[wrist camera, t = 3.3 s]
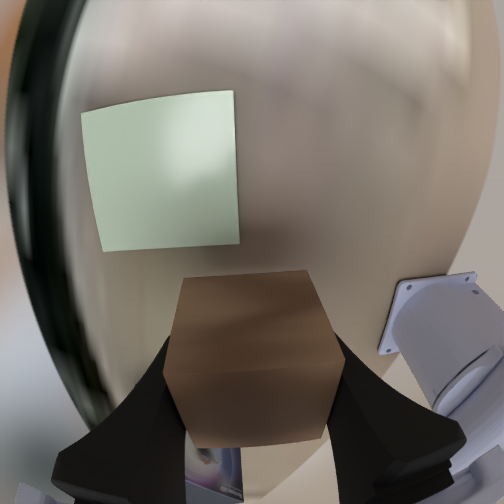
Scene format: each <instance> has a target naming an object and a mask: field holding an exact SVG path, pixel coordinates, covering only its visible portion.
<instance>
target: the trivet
mask: <svg viewBox="0 0 504 504" xmlns="http://www.w3.org/2000/svg"><path fill="white" fill-rule="evenodd" d="M81 120H82V132H83V142H84V151H85V159H86V166H87V173H88V179H89V186H90V191H91V197H92V202H93V208H94V213H95V217H96V222H97V227H98V231H99V236H100V240H101V244H102V248H103V252H106V251H122V250H139V249H157V248H174V247H193V246H211V245H231V244H240V239H239V219H238V198H237V175H236V151H235V126H234V98H233V90H229V91H213V92H201V93H190V94H181V95H173V96H166V97H159V98H152V99H146V100H140V101H135V102H129V103H124V104H119V105H115V106H110V107H106V108H101V109H97V110H93V111H89V112H85V113H82V114H81Z"/></svg>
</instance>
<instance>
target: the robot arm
mask: <svg viewBox="0 0 504 504" xmlns="http://www.w3.org/2000/svg"><path fill="white" fill-rule="evenodd" d="M476 278H477V274H476V273H475V272H467V273H459V274H452V275H445V276H437V277H429V278H421V279H412V280H404V281H401V282H400V283H399V284H398V286H397V289H396V293H395V297H394V300H393V304H392V308H391V311H390V314H389V318H388V321H387V324H386V328H385V331H384V334H383V337H382V340H381V343H380V346H379V349H378V352H379V354H380V355H385V354H390V353H395V352H399V351H400V352H401V353H402V355H403V357H404V359H405V360H406V362H407V364H408V365H409V367H410V369H411V371H412V373H413V374H414V376H415V378H416V380H417V382H418V384H419V386H420V387H421V389H422V391H423V393H424V395H425V397H426V399H427V401H428V403H429V405H430V407H431V409H432V411H431V410H429V409H427V408H425V407H423V406H421V405H419V404H417V403H415V402H414V401H412V400H411V399H409V398H407V397H406V396H404V395H402V394H401V393H399V392H398V391H396V390H395V389H393V388H392V387H391V386H389V385H388V384H387V383H386V382H384V381H383V380H382V379H381V378H379V377H378V376H377V375H376V374H375V373H374V372H373V371H371V370H370V369H369V368H368V367H367V366H366V365H365V364H364V363H363V362H362V361H361V360H360V359H359V358H358V357H357V356H356V355H355V354H354V353H353V352H352V351H351V350H350V349H349V348H348V347H347V346H346V344H345V343H344V342H343V341H342V340H341V339H340V338H339V337H338V335H337V334H336V333H335V332H334V333H335V336H336V338H337V341H338V343H339V345H340V348H341V350H342V353H343V355H344V357H345V363H344V366H343V370H342V374H341V377H340V381H339V384H338V388H337V391H336V394H335V398H334V401H333V404H332V407H331V410H330V414H329V417H328V420H327V427H328V431H329V435H330V440H331V445H332V449H333V456H334V462H335V468H336V475H337V482H338V492H339V501H340V504H496V503H497V502H498V501H500V500H501V499H504V311H503V310H502V309H500V307H499V306H498V305H497V304H496V303H495V302H494V301H493V300H492V299H491V298H490V297H489V296H488V295H487V294H486V293H485V292H484V291H483V290H482V289H481V288H480V287H479V286H478V285H477V284H475V281H476ZM408 285H409V286H408ZM407 286H408V287H407ZM169 340H170V336H169V337H168V338H167V339H166V341H165V343H164V344H163V346H162V348H161V349H160V351H159V353H158V354H157V356H156V357H155V359H154V361H153V362H152V364H151V365H150V366H149V368H148V369H147V371H146V372H145V374H144V375H143V377H142V378H141V379H140V381H139V382H138V383H137V385H136V386H135V387H134V389H133V390H132V391H131V392H130V393H129V395H128V396H127V397H126V398H125V399H124V400H123V402H122V403H121V404H120V405H119V406H118V407H117V408H116V409H115V410H114V411H113V412H112V413H111V414H110V415H109V416H108V417H107V418H106V419H105V420H104V421H103V422H101V423H100V424H99V425H98V426H97V427H95V428H94V429H93V430H92V431H90V432H89V433H88V434H87V435H86V436H84V437H83V438H82V439H80V440H78V441H77V442H75V443H74V444H72V445H70V446H69V447H67V448H66V449H64V450H62V451H61V452H59V454H58V457H57V459H56V462H55V466H54V470H53V474H52V478H51V482H52V483H53V485H55V486H56V487H57V488H59V489H60V490H62V491H64V492H65V493H67V494H68V495H70V496H72V497H73V498H75V502H74V504H187V503H186V487H185V439H186V430H187V429H186V427H185V425H184V423H183V421H182V418H181V416H180V414H179V412H178V409H177V407H176V405H175V402H174V400H173V398H172V395H171V393H170V390H169V388H168V385H167V383H166V380H165V378H164V375H163V369H164V364H165V359H166V354H167V350H168V345H169ZM14 504H66V503H64V502H61V501H58V500H56V499H54V498H53V497H51V496H50V495H48V494H46V493H44V492H42V491H40V490H38V489H36V488H33V487H31V486H29V485H27V484H25V483H23V482H20V484H19V488H18V491H17V495H16V499H15V503H14Z"/></svg>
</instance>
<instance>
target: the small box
mask: <svg viewBox="0 0 504 504" xmlns="http://www.w3.org/2000/svg"><path fill="white" fill-rule="evenodd" d="M136 385H137V384H136ZM136 385H135V386H136ZM185 487H186V503H187V504H237V503H244V498H243V483H242V468H241V451H240V447H239V448H195V446H194V444H193V442H192V440H191V438H190V436H189V434H188V432H187V430H186V439H185Z"/></svg>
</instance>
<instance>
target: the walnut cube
mask: <svg viewBox="0 0 504 504" xmlns="http://www.w3.org/2000/svg"><path fill="white" fill-rule="evenodd" d="M344 363H345V357H344V355H343V353H342V350H341V348H340V345H339V343H338V341H337V338H336V336H335V333H334V331H333V329H332V326H331V324H330V322H329V319H328V317H327V315H326V312H325V310H324V308H323V306H322V303H321V301H320V299H319V297H318V294H317V292H316V290H315V288H314V285H313V283H312V281H311V279H310V276H309V274H308V272H307V270H300V271H287V272H273V273H258V274H243V275H227V276H211V277H193V278H184V280H183V284H182V288H181V292H180V296H179V300H178V304H177V309H176V313H175V317H174V322H173V326H172V331H171V335H170V340H169V345H168V350H167V354H166V359H165V364H164V369H163V375H164V378H165V380H166V383H167V385H168V388H169V390H170V393H171V395H172V398H173V400H174V402H175V405H176V407H177V409H178V412H179V414H180V416H181V418H182V421H183V423H184V425H185V427H186V429H187V432H188V434H189V436H190V438H191V440H192V442H193V444H194V446H195V448H239V447H256V446H267V445H277V444H286V443H294V442H301V441H307V440H314V439H319V438H321V437H322V434H323V431H324V428H325V425H326V423H327V420H328V417H329V414H330V410H331V407H332V404H333V401H334V398H335V394H336V391H337V388H338V384H339V381H340V377H341V374H342V370H343V366H344Z"/></svg>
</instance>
